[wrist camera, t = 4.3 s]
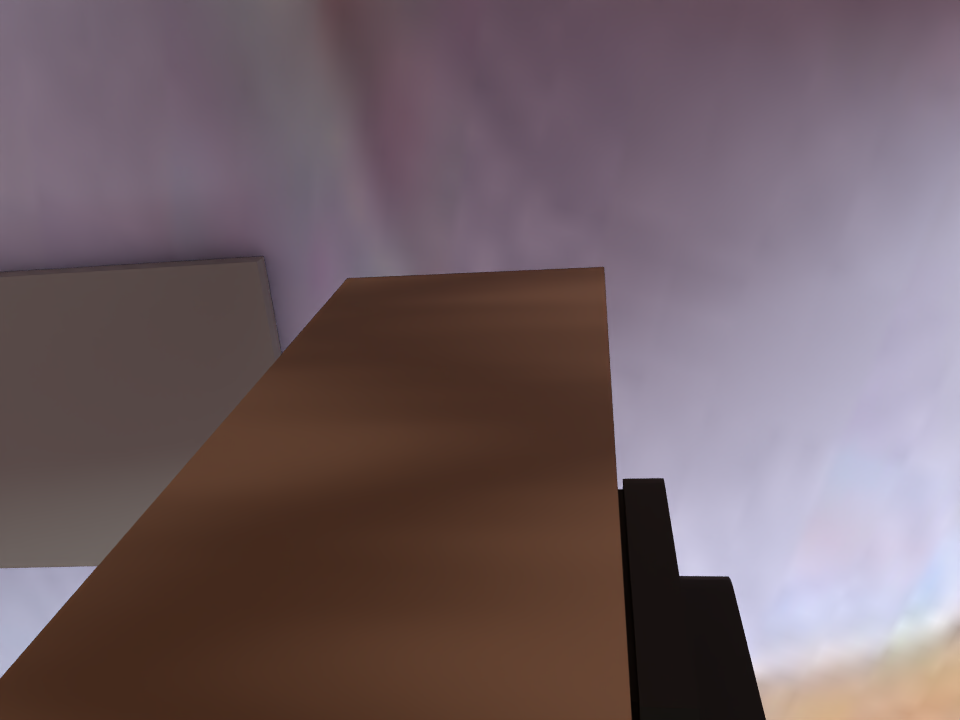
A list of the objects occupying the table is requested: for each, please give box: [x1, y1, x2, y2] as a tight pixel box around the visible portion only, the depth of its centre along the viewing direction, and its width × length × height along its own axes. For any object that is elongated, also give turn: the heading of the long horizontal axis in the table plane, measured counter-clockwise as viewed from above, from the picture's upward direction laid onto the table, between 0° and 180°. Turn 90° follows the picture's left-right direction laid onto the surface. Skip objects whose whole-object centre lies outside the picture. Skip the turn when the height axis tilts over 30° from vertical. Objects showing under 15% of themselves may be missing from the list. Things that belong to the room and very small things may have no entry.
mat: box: [0, 256, 281, 568], centre depth 26 cm, size 18×10×1 cm, turn 95°
